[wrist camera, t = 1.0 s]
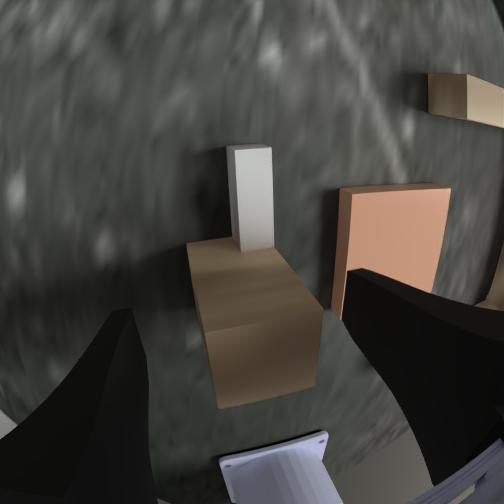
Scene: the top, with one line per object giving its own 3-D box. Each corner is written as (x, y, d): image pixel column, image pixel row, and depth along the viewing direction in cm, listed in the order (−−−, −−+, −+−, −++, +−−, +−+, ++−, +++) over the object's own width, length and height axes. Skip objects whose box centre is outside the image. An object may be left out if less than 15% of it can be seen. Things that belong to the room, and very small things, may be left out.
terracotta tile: (414, 281, 17) (430, 293, 16) (326, 303, 16) (339, 319, 15) (430, 180, 15) (450, 188, 13) (334, 185, 13) (352, 194, 12)
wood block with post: (265, 354, 16) (306, 441, 11) (206, 366, 15) (230, 460, 10) (258, 143, 11) (330, 168, 6) (175, 151, 11) (183, 182, 6)
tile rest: (491, 313, 21) (510, 328, 19) (389, 359, 19) (410, 384, 17) (530, 109, 14) (557, 115, 12) (427, 73, 12) (466, 74, 9)
